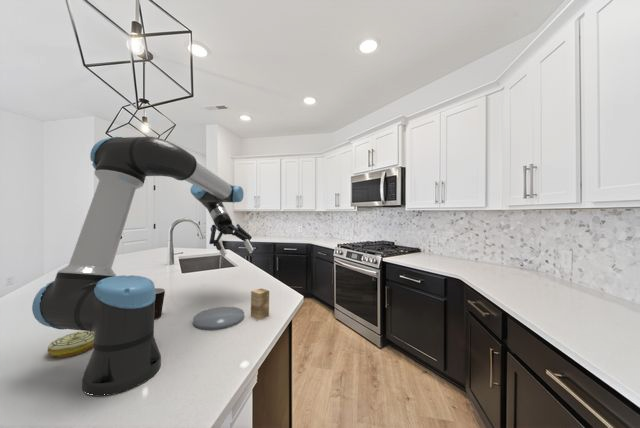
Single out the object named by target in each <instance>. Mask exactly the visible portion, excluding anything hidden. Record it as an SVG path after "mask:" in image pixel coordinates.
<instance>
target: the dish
mask: <svg viewBox="0 0 640 428" xmlns="http://www.w3.org/2000/svg"><path fill="white" fill-rule="evenodd" d="M244 319H245V311H244V310H243V309H241V308H239V307H235V306H219V307H212V308H208V309H205V310H202V311H200V312H198V313H197V314H196V315H194V316H193V318H192V325H193V327H194V328H196V329H199V330H202V331H219V330H224V329H228V328H231V327H234V326H237V325H238V324H240V323H241V322H242V321H243V320H244Z"/></svg>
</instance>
